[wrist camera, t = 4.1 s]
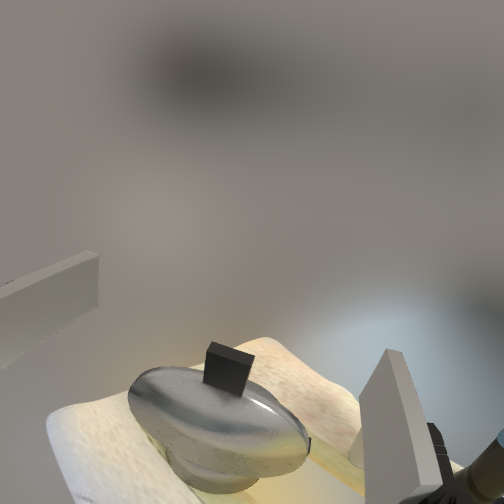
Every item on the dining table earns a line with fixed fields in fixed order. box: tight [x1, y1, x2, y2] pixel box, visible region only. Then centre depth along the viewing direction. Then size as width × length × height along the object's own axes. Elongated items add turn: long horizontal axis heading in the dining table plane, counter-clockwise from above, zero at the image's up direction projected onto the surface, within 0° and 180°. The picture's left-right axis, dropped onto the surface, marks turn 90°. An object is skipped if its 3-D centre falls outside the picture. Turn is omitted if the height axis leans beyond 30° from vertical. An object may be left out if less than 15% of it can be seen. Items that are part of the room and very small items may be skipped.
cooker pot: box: [166, 380, 311, 494], centre depth 39 cm, size 17×26×12 cm, turn 77°
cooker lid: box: [128, 342, 309, 478], centre depth 23 cm, size 22×18×1 cm
